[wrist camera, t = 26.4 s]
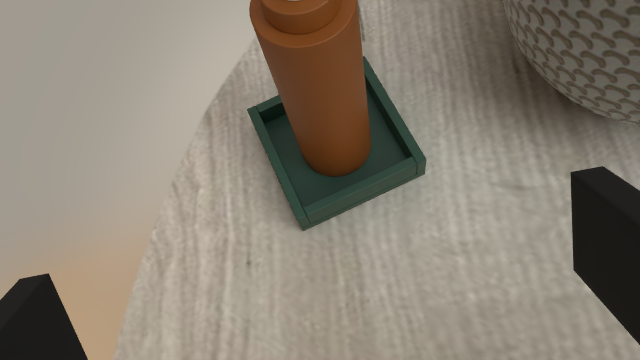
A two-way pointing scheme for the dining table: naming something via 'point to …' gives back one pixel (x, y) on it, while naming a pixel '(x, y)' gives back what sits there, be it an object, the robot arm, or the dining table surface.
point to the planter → (584, 50)
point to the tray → (350, 190)
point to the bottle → (318, 78)
